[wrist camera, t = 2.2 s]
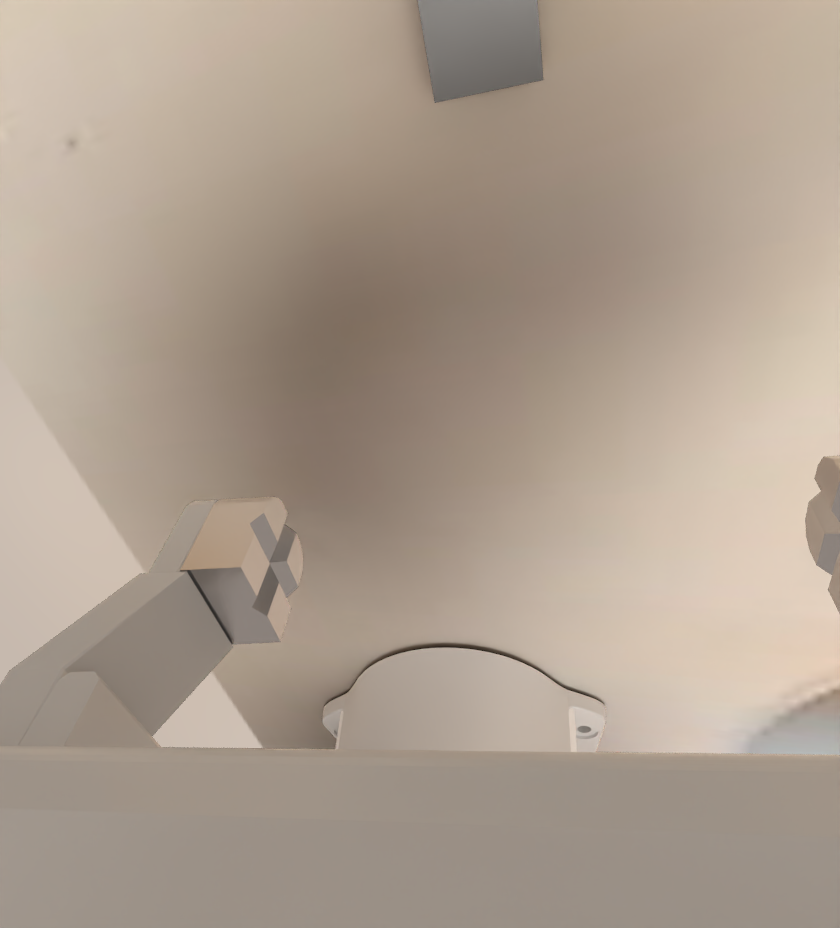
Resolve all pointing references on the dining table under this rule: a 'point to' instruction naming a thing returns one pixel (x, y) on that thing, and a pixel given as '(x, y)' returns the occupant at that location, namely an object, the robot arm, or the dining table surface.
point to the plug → (480, 45)
